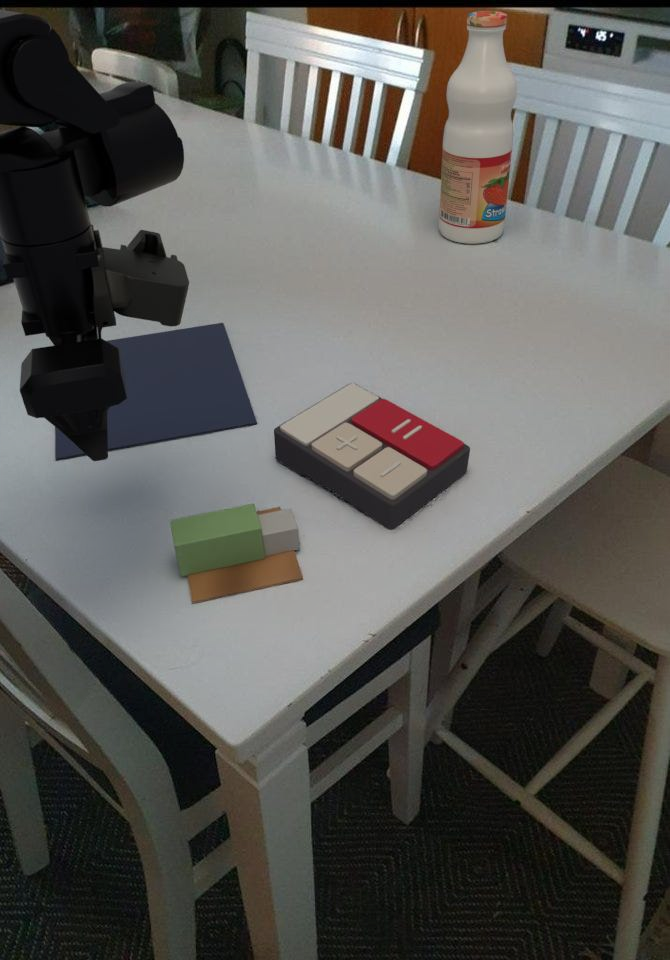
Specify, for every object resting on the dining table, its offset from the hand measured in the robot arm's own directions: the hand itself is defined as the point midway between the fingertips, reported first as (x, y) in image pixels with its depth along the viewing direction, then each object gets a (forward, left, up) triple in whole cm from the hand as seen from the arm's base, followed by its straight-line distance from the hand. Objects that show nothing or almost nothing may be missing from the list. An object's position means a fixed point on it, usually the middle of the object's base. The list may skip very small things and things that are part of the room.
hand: (98, 424), depth 63 cm
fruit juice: (+53, +51, -12) cm, 75 cm away
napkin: (+4, +24, -12) cm, 27 cm away
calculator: (+23, +3, -12) cm, 26 cm away
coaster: (+9, -5, -12) cm, 16 cm away
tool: (+9, -5, -12) cm, 15 cm away
